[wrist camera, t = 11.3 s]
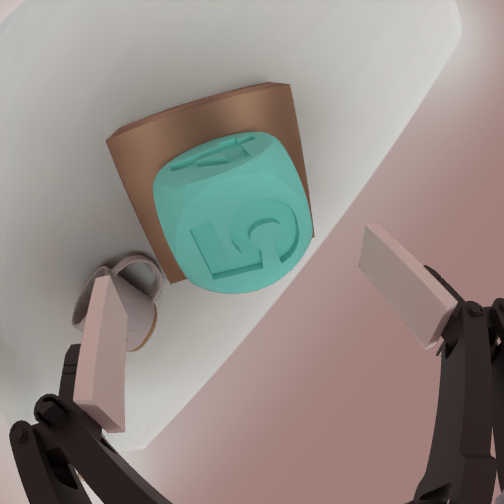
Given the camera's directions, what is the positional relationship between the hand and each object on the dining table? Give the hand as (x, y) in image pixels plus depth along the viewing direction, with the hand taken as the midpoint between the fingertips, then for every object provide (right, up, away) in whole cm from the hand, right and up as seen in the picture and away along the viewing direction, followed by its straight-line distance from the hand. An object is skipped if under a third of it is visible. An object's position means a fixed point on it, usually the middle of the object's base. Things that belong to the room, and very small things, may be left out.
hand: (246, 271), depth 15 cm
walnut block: (-3, +9, +13) cm, 16 cm away
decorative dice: (-2, +6, +9) cm, 11 cm away
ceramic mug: (-15, -3, +18) cm, 23 cm away
